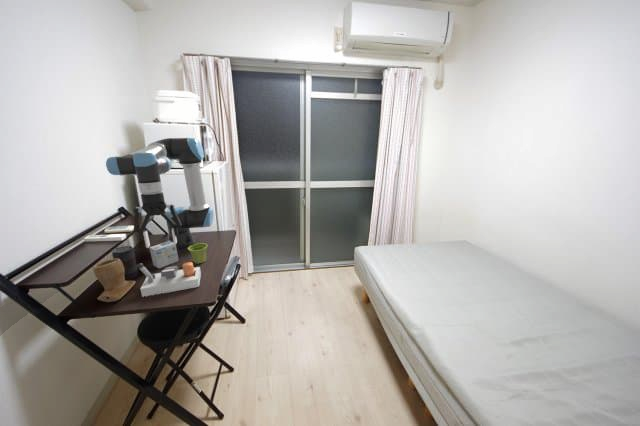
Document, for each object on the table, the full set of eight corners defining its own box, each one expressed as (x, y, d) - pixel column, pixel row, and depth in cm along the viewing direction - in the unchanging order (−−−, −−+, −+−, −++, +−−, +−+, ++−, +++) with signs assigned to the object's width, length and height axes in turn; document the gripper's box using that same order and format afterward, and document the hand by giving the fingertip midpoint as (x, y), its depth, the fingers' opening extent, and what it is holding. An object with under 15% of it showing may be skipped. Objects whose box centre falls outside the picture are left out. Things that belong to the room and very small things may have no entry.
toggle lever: (150, 279, 115) (136, 263, 111) (156, 276, 115) (141, 261, 111) (149, 282, 112) (134, 266, 109) (154, 279, 113) (140, 263, 109)
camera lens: (116, 283, 119) (108, 253, 114) (121, 275, 126) (114, 247, 122) (137, 279, 122) (130, 250, 118) (141, 271, 129) (134, 244, 125)
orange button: (185, 274, 120) (183, 263, 118) (195, 272, 122) (193, 261, 120) (183, 279, 116) (181, 267, 114) (194, 277, 118) (192, 265, 116)
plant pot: (202, 266, 134) (200, 251, 132) (186, 264, 136) (184, 249, 133) (212, 258, 143) (210, 243, 140) (198, 256, 145) (195, 242, 142)
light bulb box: (173, 257, 144) (169, 240, 140) (179, 261, 140) (176, 242, 137) (152, 265, 135) (148, 246, 132) (158, 269, 131) (154, 249, 128)
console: (149, 282, 119) (147, 271, 117) (200, 273, 126) (199, 263, 125) (142, 297, 108) (139, 284, 107) (198, 286, 116) (196, 275, 114)
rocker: (166, 271, 119) (165, 267, 119) (178, 270, 120) (177, 265, 120) (161, 277, 110) (160, 272, 110) (174, 274, 112) (173, 270, 112)
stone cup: (111, 285, 117) (103, 255, 113) (139, 282, 119) (132, 253, 115) (88, 305, 103) (78, 272, 99) (120, 303, 105) (112, 270, 100)
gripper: (114, 196, 94) (128, 252, 100) (181, 192, 101) (190, 244, 108) (122, 192, 101) (134, 245, 107) (184, 188, 108) (192, 238, 114)
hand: (162, 244), depth 107 cm, fingers open, 9 cm apart
